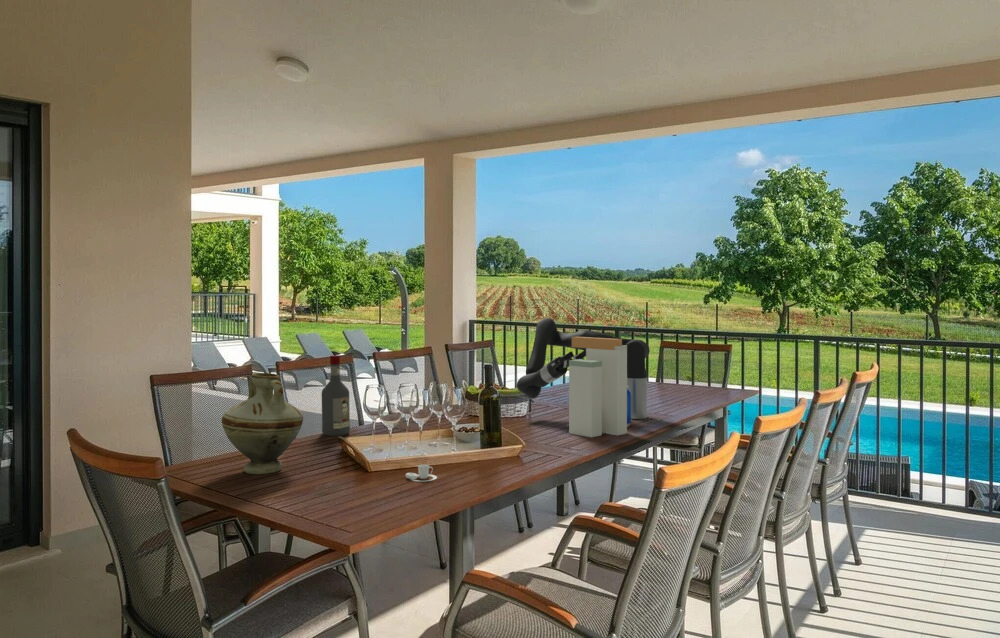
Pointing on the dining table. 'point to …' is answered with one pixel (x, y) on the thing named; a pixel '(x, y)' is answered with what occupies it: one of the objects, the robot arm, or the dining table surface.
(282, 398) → the amphora
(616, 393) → the white post
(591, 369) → the green-topped post
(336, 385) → the liquor
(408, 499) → the dining table surface
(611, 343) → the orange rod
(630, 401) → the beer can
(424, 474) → the teacup and saucer
